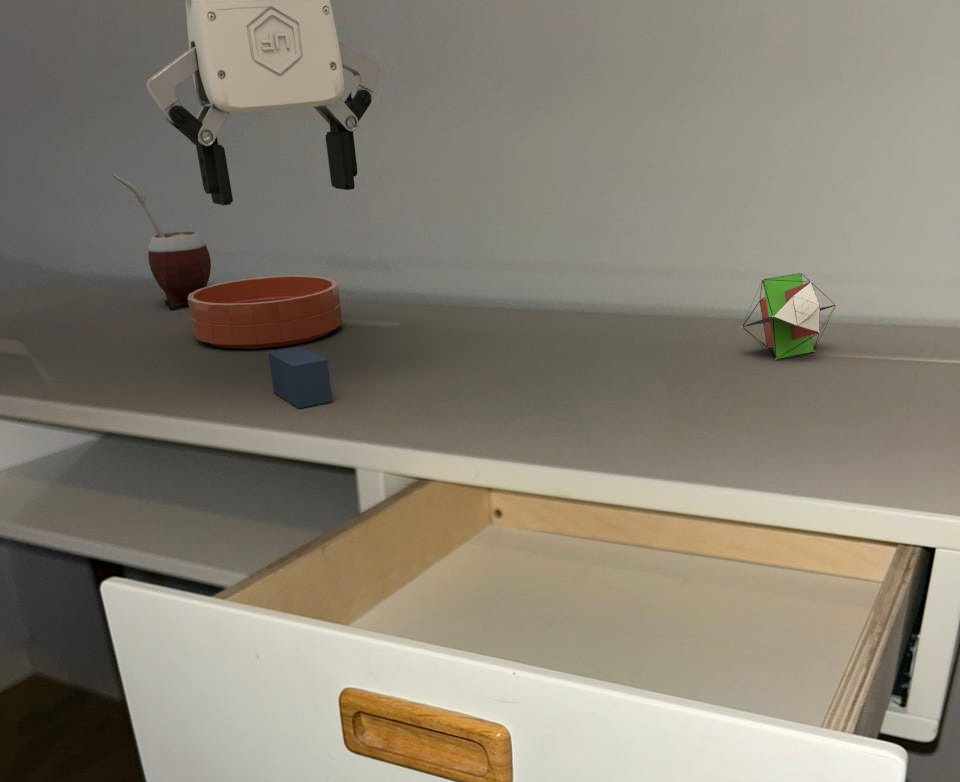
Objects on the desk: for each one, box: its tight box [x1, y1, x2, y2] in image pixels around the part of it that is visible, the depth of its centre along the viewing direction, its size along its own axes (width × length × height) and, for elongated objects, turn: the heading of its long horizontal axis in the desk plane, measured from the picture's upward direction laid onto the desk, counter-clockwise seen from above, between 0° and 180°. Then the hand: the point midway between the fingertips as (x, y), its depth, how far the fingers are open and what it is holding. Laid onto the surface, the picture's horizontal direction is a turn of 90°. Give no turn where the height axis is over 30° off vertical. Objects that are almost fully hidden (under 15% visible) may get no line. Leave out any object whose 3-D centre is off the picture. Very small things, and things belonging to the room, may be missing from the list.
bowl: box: [187, 275, 343, 350], centre depth 111 cm, size 15×15×4 cm
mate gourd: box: [111, 173, 212, 311], centre depth 125 cm, size 8×8×15 cm
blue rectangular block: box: [267, 345, 333, 410], centre depth 88 cm, size 3×6×4 cm, turn 29°
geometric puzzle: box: [740, 271, 838, 361], centre depth 91 cm, size 7×7×8 cm
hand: (284, 195), depth 81 cm, fingers open, 9 cm apart
